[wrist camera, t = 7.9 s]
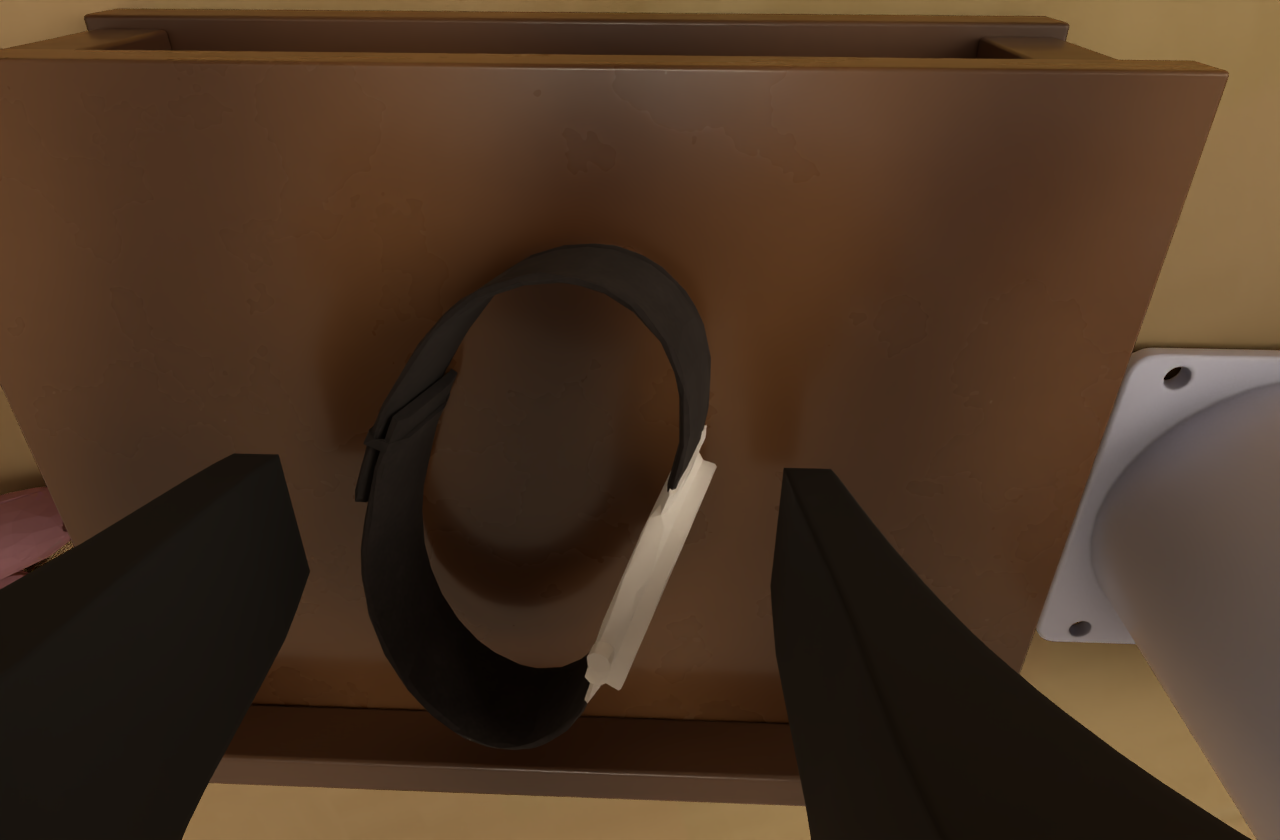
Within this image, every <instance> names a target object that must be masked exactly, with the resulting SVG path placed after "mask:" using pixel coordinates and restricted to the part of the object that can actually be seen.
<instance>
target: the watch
mask: <svg viewBox="0 0 1280 840" xmlns="http://www.w3.org/2000/svg"><path fill="white" fill-rule="evenodd" d="M553 283H565V284H572V285H578V286H582V287H585V288H588V289H591V290H594V291H597V292H600V293H604V294H606V295H607V296H609V297H610V298H612V299H613V300H615V301H617V302H618V303H620V304H621V305H623V306H624V307H626V308H628V309H629V310H631V311H632V312H634V314H635V315H636V316H637V317H638V318H639V319H640V320H641V321H642V322H643V323H644V324H645V326H646V327H647V328H648V329H649V330H650V331H651V332H652V333H653V334H654V335H655V336H656V338H657V339H658V340H659V341H660V342H661V344H662V346H663V349H664V351H665V353H666V355H667V358H668V360H669V362H670V364H671V366H672V369H673V371H674V374H675V378H676V383H677V388H678V393H679V444H678V448H677V452H676V455H675V459H674V462H673V466H672V469H671V472H670V474H669V476H668V478H667V480H666V482H665V484H664V486H663V488H662V491H661V493H660V495H659V497H658V499H657V501H656V503H655V505H654V507H653V509H652V511H651V513H650V516H649V518H648V520H647V522H646V524H645V526H644V528H643V530H642V532H641V534H640V537H639V539H638V541H637V544H636V546H635V548H634V551H633V553H632V555H631V557H630V560H629V562H628V564H627V567H626V569H625V571H624V574H623V576H622V578H621V581H620V583H619V585H618V587H617V590H616V592H615V594H614V597H613V599H612V601H611V604H610V606H609V608H608V610H607V613H606V615H605V617H604V620H603V622H602V625H601V628H600V631H599V634H598V637H597V640H596V642H595V644H593V646H592V648H591V650H590V652H589V653H588V654H587V655H585V656H584V657H583V658H582V659H580V660H577V661H575V662H573V663H570V664H568V665H565V666H563V667H551V668H534V667H529V666H525V665H521V664H518V663H516V662H514V661H512V660H510V659H508V658H506V657H503V656H501V655H499V654H497V653H495V652H494V651H492V650H491V649H490V648H488V647H487V646H486V645H484V644H483V643H481V642H480V641H479V640H478V639H477V638H476V637H475V636H474V635H473V634H472V633H471V632H470V631H469V630H468V629H467V628H466V627H465V626H464V625H463V623H462V622H461V621H460V620H459V619H458V617H457V616H456V614H455V613H454V611H453V610H452V608H451V607H450V605H449V604H448V602H447V601H446V599H445V598H444V596H443V595H442V593H441V590H440V588H439V585H438V583H437V581H436V578H435V576H434V574H433V571H432V569H431V565H430V562H429V558H428V554H427V550H426V546H425V540H424V527H423V513H422V507H423V490H424V482H425V478H426V473H427V468H428V464H429V459H430V454H431V449H432V445H433V440H434V435H435V431H436V427H437V424H438V421H439V418H440V416H441V414H442V412H443V410H444V408H445V406H446V404H447V401H448V399H449V396H450V391H451V388H452V386H453V383H454V381H455V378H456V376H457V372H456V371H454V370H453V369H451V370H450V372H448V373H447V374H446V375H445V376H443V375H444V373H445V372H446V370H447V368H448V366H449V364H450V362H451V360H452V359H453V357H454V355H455V353H456V351H457V349H458V347H459V346H460V344H461V342H462V340H463V338H464V337H465V335H466V334H467V332H468V330H469V329H470V327H471V326H472V325H473V323H474V322H475V321H476V319H477V318H478V317H479V315H480V314H481V313H482V311H483V310H484V309H485V307H486V306H487V305H488V303H489V302H490V301H491V299H492V298H493V297H494V296H495V295H496V294H499V293H502V292H505V291H508V290H512V289H515V288H518V287H521V286H524V285H538V284H553ZM710 377H711V356H710V351H709V346H708V341H707V336H706V332H705V327H704V323H703V321H702V319H701V317H700V315H699V312H698V310H697V308H696V306H695V305H694V303H693V301H692V300H691V298H690V297H689V295H688V293H687V292H686V290H685V289H684V288H683V287H682V286H681V285H680V284H679V283H678V282H677V281H676V280H675V279H674V278H673V277H672V276H671V275H670V274H669V273H668V272H667V271H666V270H665V269H664V268H663V267H661V266H660V265H658V264H657V263H655V262H653V261H652V260H650V259H648V258H647V257H645V256H644V255H641V254H638V253H635V252H633V251H630V250H627V249H625V248H622V247H619V246H616V245H606V244H576V245H563V246H559V247H556V248H553V249H550V250H546V251H543V252H540V253H536V254H533V255H530V256H529V257H527V258H525V259H524V260H522V261H520V262H519V263H517V264H516V265H514V266H512V267H511V268H509V269H507V270H506V271H505V272H503V273H502V274H500V275H498V276H497V277H495V278H494V279H492V280H491V281H490V282H488V283H487V284H485V285H484V286H482V287H481V288H479V289H478V290H476V291H475V292H473V293H471V294H469V295H468V296H466V297H464V298H462V299H460V300H459V301H458V302H457V303H456V304H455V305H453V306H452V307H451V308H450V309H449V310H448V311H446V312H445V313H444V314H443V316H442V317H441V318H440V319H439V320H438V321H437V323H436V324H435V325H434V326H433V327H432V328H431V330H430V331H429V332H428V333H427V334H426V335H425V337H424V338H423V339H422V340H421V341H420V342H419V344H418V345H417V347H416V349H415V350H414V352H413V354H412V355H411V357H410V359H409V360H408V362H407V364H406V365H405V367H404V369H403V370H402V372H401V374H400V376H399V377H398V379H397V381H396V382H395V384H394V386H393V387H392V389H391V391H390V392H389V394H388V396H387V397H386V399H385V401H384V402H383V404H382V407H381V409H380V411H379V414H378V416H377V419H376V421H375V423H374V426H373V427H371V428H370V429H369V431H368V434H367V436H366V438H365V441H364V443H363V444H364V445H367V446H366V450H365V454H364V458H363V462H362V465H361V469H360V473H359V477H358V481H357V484H356V488H355V502H367V501H368V505H367V510H366V515H365V520H364V528H363V535H362V543H361V575H362V581H363V586H364V592H365V598H366V603H367V609H368V614H369V617H370V620H371V622H372V625H373V627H374V630H375V632H376V635H377V637H378V640H379V643H380V645H381V648H382V650H383V653H384V655H385V656H386V658H387V659H388V661H389V663H390V664H391V666H392V667H393V669H394V670H395V672H396V674H397V675H398V677H399V678H400V680H401V681H402V683H403V684H404V686H405V687H406V688H407V690H408V691H409V692H410V693H411V694H412V695H413V696H414V698H415V699H416V700H417V701H418V702H419V703H420V704H421V705H422V706H423V707H424V708H425V709H426V710H427V711H428V712H429V713H430V714H431V715H432V716H433V717H434V718H436V719H437V720H438V721H440V722H441V723H442V724H444V725H445V726H447V727H448V728H449V729H451V730H452V731H453V732H455V733H457V734H458V735H460V736H461V737H463V738H465V739H467V740H470V741H473V742H475V743H478V744H481V745H484V746H486V747H491V748H498V749H510V750H520V749H532V748H535V747H538V746H541V745H544V744H546V743H548V742H549V741H551V740H553V739H554V738H556V737H558V736H559V735H561V734H563V733H564V732H566V731H567V730H568V729H569V728H570V727H571V726H572V725H573V723H574V722H575V721H576V720H577V719H578V718H579V716H580V715H581V714H582V713H583V712H584V710H585V708H586V706H587V704H588V702H589V701H590V700H591V698H592V697H593V696H594V694H595V693H596V692H597V690H598V689H599V688H600V686H601V685H603V684H605V683H606V684H608V685H610V686H611V687H613V688H615V689H617V690H620V689H621V688H622V686H623V684H624V682H625V680H626V677H627V675H628V673H629V670H630V668H631V666H632V663H633V661H634V659H635V656H636V654H637V651H638V649H639V647H640V645H641V642H642V640H643V638H644V635H645V633H646V631H647V629H648V626H649V624H650V622H651V619H652V617H653V615H654V612H655V610H656V608H657V605H658V603H659V601H660V598H661V596H662V594H663V591H664V589H665V587H666V584H667V582H668V580H669V577H670V575H671V573H672V570H673V568H674V566H675V563H676V561H677V559H678V556H679V554H680V552H681V550H682V547H683V545H684V543H685V540H686V538H687V536H688V533H689V531H690V529H691V526H692V524H693V521H694V519H695V517H696V514H697V512H698V510H699V507H700V505H701V503H702V500H703V498H704V496H705V493H706V491H707V489H708V486H709V484H710V482H711V479H712V477H713V474H714V472H715V470H716V468H717V466H716V465H715V464H714V463H711V462H708V461H705V460H703V458H702V457H701V455H700V453H699V450H700V448H701V446H702V444H703V442H704V440H705V438H706V427H707V425H705V421H706V417H707V413H708V408H709V393H710Z"/></svg>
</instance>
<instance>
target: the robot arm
mask: <svg viewBox="0 0 1280 840" xmlns="http://www.w3.org/2000/svg"><path fill="white" fill-rule="evenodd" d="M1176 367H1181V370H1180V371H1179V373H1178V374H1177V375H1176V376H1174V377H1173V378H1171V379H1168V380H1164V377H1165V375H1166V374H1167V373H1168V372H1169V371H1170V370H1172V369H1173V368H1176ZM309 573H310V569H309V566H308V562H307V558H306V554H305V551H304V547H303V543H302V539H301V536H300V532H299V528H298V525H297V521H296V517H295V513H294V510H293V506H292V502H291V499H290V495H289V491H288V487H287V484H286V480H285V476H284V473H283V469H282V465H281V461H280V458H279V455H278V454H239V453H234V454H232V455H230V456H228V457H226V458H224V459H222V460H220V461H218V462H216V463H214V464H212V465H210V466H209V467H207V468H205V469H204V470H202V471H200V472H198V473H197V474H195V475H193V476H192V477H190V478H188V479H187V480H185V481H183V482H182V483H180V484H178V485H177V486H175V487H173V488H172V489H170V490H168V491H167V492H165V493H163V494H162V495H160V496H159V497H157V498H155V499H154V500H152V501H150V502H149V503H147V504H146V505H144V506H142V507H141V508H139V509H137V510H136V511H134V512H132V513H131V514H129V515H127V516H126V517H124V518H123V519H121V520H119V521H118V522H116V523H114V524H113V525H111V526H109V527H108V528H106V529H104V530H103V531H101V532H100V533H98V534H96V535H95V536H93V537H91V538H90V539H88V540H86V541H85V542H83V543H81V544H79V545H78V546H76V547H74V548H72V549H71V550H69V551H67V552H65V553H64V554H62V555H60V556H58V557H56V558H55V559H53V560H51V561H49V562H48V563H46V564H44V565H42V566H41V567H39V568H37V569H35V570H34V571H32V572H30V573H28V574H26V575H25V576H23V577H21V578H19V579H18V580H16V581H14V582H12V583H11V584H9V585H7V586H5V587H3V588H2V589H0V840H182V838H183V835H184V833H185V830H186V828H187V826H188V823H189V821H190V819H191V817H192V815H193V813H194V811H195V809H196V807H197V805H198V803H199V801H200V799H201V797H202V795H203V793H204V791H205V789H206V787H207V785H208V783H209V781H210V779H211V778H212V776H213V774H214V772H215V770H216V768H217V766H218V765H219V763H220V761H221V759H222V757H223V755H224V754H225V752H226V750H227V748H228V746H229V744H230V742H231V741H232V739H233V737H234V735H235V733H236V731H237V729H238V728H239V726H240V724H241V722H242V720H243V718H244V717H245V715H246V713H247V711H248V709H249V707H250V705H251V704H252V702H253V700H254V698H255V696H256V694H257V692H258V691H259V689H260V687H261V685H262V683H263V681H264V679H265V677H266V675H267V674H268V672H269V670H270V668H271V666H272V664H273V662H274V660H275V658H276V657H277V655H278V653H279V651H280V649H281V647H282V645H283V643H284V641H285V639H286V637H287V634H288V631H289V629H290V626H291V624H292V621H293V619H294V616H295V613H296V611H297V608H298V605H299V602H300V599H301V597H302V594H303V591H304V588H305V585H306V582H307V579H308V576H309ZM770 588H771V602H772V616H773V629H774V641H775V653H776V659H777V664H778V670H779V675H780V680H781V685H782V690H783V695H784V700H785V705H786V710H787V715H788V720H789V725H790V730H791V735H792V740H793V745H794V750H795V755H796V760H797V765H798V770H799V775H800V780H801V785H802V790H803V795H804V800H805V805H806V810H807V816H808V822H809V828H810V835H811V840H1251V839H1250V838H1248V837H1246V836H1245V835H1243V834H1241V833H1240V832H1238V831H1236V830H1235V829H1233V828H1232V827H1230V826H1228V825H1227V824H1225V823H1224V822H1222V821H1221V820H1219V819H1218V818H1216V817H1214V816H1213V815H1211V814H1210V813H1208V812H1207V811H1205V810H1204V809H1202V808H1201V807H1199V806H1197V805H1196V804H1194V803H1193V802H1191V801H1190V800H1188V799H1187V798H1185V797H1184V796H1182V795H1181V794H1179V793H1177V792H1176V791H1174V790H1173V789H1171V788H1170V787H1168V786H1167V785H1165V784H1164V783H1162V782H1161V781H1159V780H1158V779H1156V778H1155V777H1153V776H1152V775H1151V774H1149V773H1148V772H1146V771H1145V770H1143V769H1142V768H1140V767H1139V766H1138V765H1136V764H1135V763H1133V762H1132V761H1130V760H1129V759H1127V758H1126V757H1125V756H1123V755H1122V754H1120V753H1119V752H1118V751H1116V750H1115V749H1114V748H1112V747H1111V746H1109V745H1108V744H1107V743H1105V742H1104V741H1103V740H1101V739H1100V738H1099V737H1097V736H1096V735H1095V734H1093V733H1092V732H1091V731H1089V730H1088V729H1087V728H1085V727H1084V726H1083V725H1081V724H1080V723H1079V722H1077V721H1076V720H1075V719H1073V718H1072V717H1071V716H1069V715H1068V714H1067V713H1065V712H1064V711H1063V710H1062V709H1060V708H1059V707H1058V706H1057V705H1055V704H1054V703H1053V702H1052V701H1050V700H1049V699H1048V698H1047V697H1045V696H1044V695H1043V694H1042V693H1040V692H1039V691H1038V690H1037V689H1036V688H1034V687H1033V686H1032V685H1031V684H1030V683H1029V682H1027V681H1026V680H1025V679H1024V678H1023V677H1022V676H1020V675H1019V674H1018V673H1017V672H1016V671H1015V670H1014V669H1012V668H1011V667H1010V666H1009V665H1008V664H1007V663H1006V662H1004V661H1003V660H1002V659H1001V658H1000V657H999V656H997V655H996V654H995V653H994V652H993V651H992V650H991V649H989V648H988V647H987V646H986V645H985V644H984V643H983V642H982V641H981V640H980V639H979V638H978V637H977V636H976V635H974V634H973V633H972V632H971V631H970V630H969V629H968V628H967V627H966V626H965V625H964V624H963V623H962V622H961V621H960V620H959V619H958V618H957V616H956V615H955V614H954V613H953V612H952V611H951V610H950V609H949V608H948V607H947V606H946V605H945V604H944V603H943V602H942V601H941V600H940V599H939V598H938V597H937V596H936V595H935V594H934V593H933V591H932V590H931V589H930V588H929V587H928V586H927V585H926V584H925V583H924V582H923V581H922V579H921V578H920V577H919V576H918V575H917V574H916V572H915V571H914V570H913V569H912V568H911V567H910V566H909V564H908V563H907V562H906V561H905V560H904V559H903V558H902V556H901V555H900V554H899V553H898V552H897V551H896V550H895V548H894V547H893V546H892V545H891V544H890V542H889V541H888V540H887V539H886V538H885V536H884V535H883V534H882V533H881V531H880V530H879V529H878V528H877V526H876V525H875V524H874V523H873V521H872V520H871V519H870V518H869V516H868V515H867V514H866V513H865V511H864V510H863V509H862V507H861V506H860V505H859V503H858V502H857V501H856V500H855V498H854V497H853V496H852V494H851V493H850V492H849V490H848V489H847V488H846V486H845V485H844V484H843V482H842V481H841V480H840V478H839V477H838V476H837V475H836V474H835V473H834V472H833V471H832V469H816V468H784V470H783V479H782V488H781V496H780V505H779V514H778V523H777V532H776V540H775V549H774V558H773V567H772V575H771V584H770ZM1080 621H1081V622H1080ZM1076 622H1080V623H1078V624H1074V623H1076ZM1072 624H1074V625H1072ZM1036 630H1037V632H1038V633H1039V635H1040V637H1042V638H1043V639H1045V640H1049V641H1058V642H1089V643H1120V644H1136V645H1137V646H1138V648H1139V650H1140V651H1141V653H1142V655H1143V656H1144V658H1145V659H1146V661H1147V663H1148V664H1149V666H1150V667H1151V669H1152V671H1153V672H1154V674H1155V676H1156V677H1157V679H1158V680H1159V682H1160V684H1161V685H1162V687H1163V689H1164V690H1165V692H1166V693H1167V695H1168V697H1169V698H1170V700H1171V701H1172V703H1173V705H1174V706H1175V708H1176V710H1177V711H1178V713H1179V714H1180V716H1181V718H1182V719H1183V721H1184V722H1185V724H1186V726H1187V727H1188V729H1189V731H1190V732H1191V734H1192V735H1193V737H1194V739H1195V740H1196V742H1197V743H1198V745H1199V747H1200V748H1201V750H1202V752H1203V753H1204V755H1205V756H1206V758H1207V760H1208V761H1209V763H1210V765H1211V766H1212V768H1213V769H1214V771H1215V773H1216V774H1217V776H1218V777H1219V779H1220V781H1221V782H1222V784H1223V786H1224V787H1225V789H1226V790H1227V792H1228V794H1229V795H1230V797H1231V798H1232V800H1233V802H1234V803H1235V805H1236V807H1237V808H1238V810H1239V811H1240V813H1241V815H1242V816H1243V818H1244V820H1245V821H1246V823H1247V824H1248V826H1249V828H1250V829H1251V831H1252V832H1253V834H1254V836H1255V837H1256V839H1257V840H1280V350H1246V349H1198V348H1145V349H1141V350H1138V351H1136V352H1134V353H1132V354H1131V357H1130V360H1129V363H1128V366H1127V369H1126V372H1125V374H1124V377H1123V380H1122V383H1121V386H1120V389H1119V392H1118V394H1117V397H1116V400H1115V403H1114V406H1113V409H1112V412H1111V414H1110V417H1109V420H1108V423H1107V426H1106V429H1105V432H1104V434H1103V437H1102V440H1101V443H1100V446H1099V449H1098V452H1097V455H1096V457H1095V460H1094V463H1093V466H1092V469H1091V472H1090V475H1089V477H1088V480H1087V483H1086V486H1085V489H1084V492H1083V495H1082V497H1081V500H1080V503H1079V506H1078V509H1077V512H1076V515H1075V517H1074V520H1073V523H1072V526H1071V529H1070V532H1069V535H1068V538H1067V540H1066V543H1065V546H1064V549H1063V552H1062V555H1061V558H1060V560H1059V563H1058V566H1057V569H1056V572H1055V575H1054V578H1053V580H1052V583H1051V586H1050V589H1049V592H1048V595H1047V598H1046V600H1045V603H1044V606H1043V609H1042V612H1041V615H1040V618H1039V621H1038V623H1037V626H1036Z"/></svg>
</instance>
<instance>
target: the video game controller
mask: <svg viewBox="0 0 1280 840" xmlns="http://www.w3.org/2000/svg"><path fill="white" fill-rule="evenodd" d="M70 540H71V538H70V536H69V534H68V532H67V530H66V527H65V525H64V523H63V521H62V519H61V516H60V514H59V512H58V510H57V508H56V505H55V503H54V501H53V499H52V497H51V495H50V492H49V490H48V488H47V486H46V487H37V488H31V489H26V490H21V491H16V492H11V493H7V494H3V495H0V589H2V588H3V587H5V586H7V585H9V584H11V583H12V582H14V581H16V580H18V579H19V578H21V577H23V576H25V575H26V574H28V572H26V571H24V570H22V569H24V568H26V567H29V566H31V565H33V564H35V563H37V562H39V561H41V560H43V559H45V558H47V557H49V556H51V555H52V554H54V553H55V552H56V551H57V550H59V549H60V548H61V547H62V546H64V545H65V544H66V543H67V542H69V541H70Z"/></svg>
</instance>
